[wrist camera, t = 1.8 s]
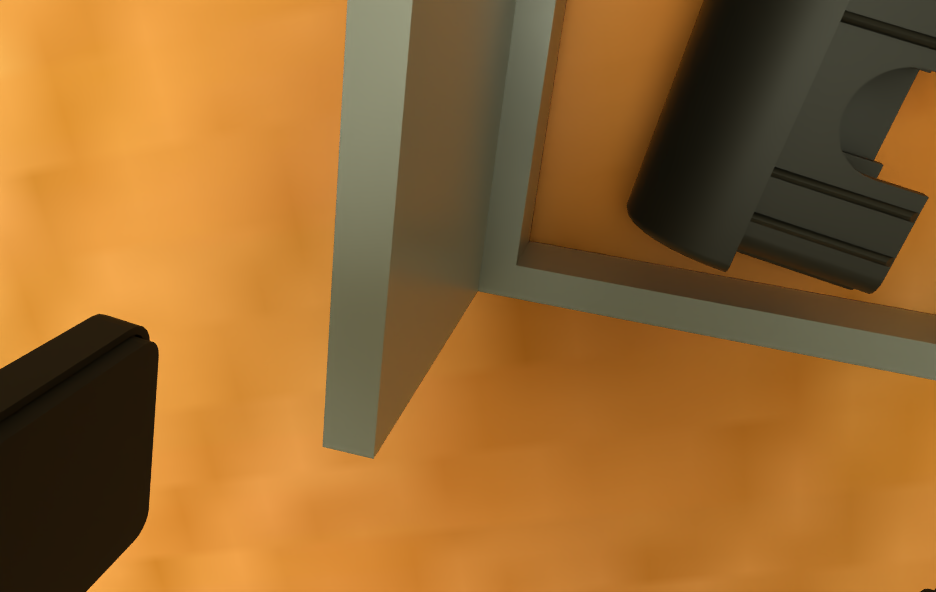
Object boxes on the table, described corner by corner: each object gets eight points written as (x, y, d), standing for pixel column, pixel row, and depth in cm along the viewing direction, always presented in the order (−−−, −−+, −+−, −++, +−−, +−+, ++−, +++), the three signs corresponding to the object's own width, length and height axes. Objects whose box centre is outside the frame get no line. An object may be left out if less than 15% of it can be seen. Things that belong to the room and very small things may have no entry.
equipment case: (1224, -183, 21) (2124, -479, 8) (997, 359, 27) (1303, 679, 14) (525, -238, 24) (376, -514, 11) (464, 258, 30) (322, 446, 17)
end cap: (741, -116, 24) (770, -157, 18) (971, -50, 23) (1085, -69, 17) (627, 186, 28) (619, 238, 22) (821, 251, 27) (870, 324, 21)
